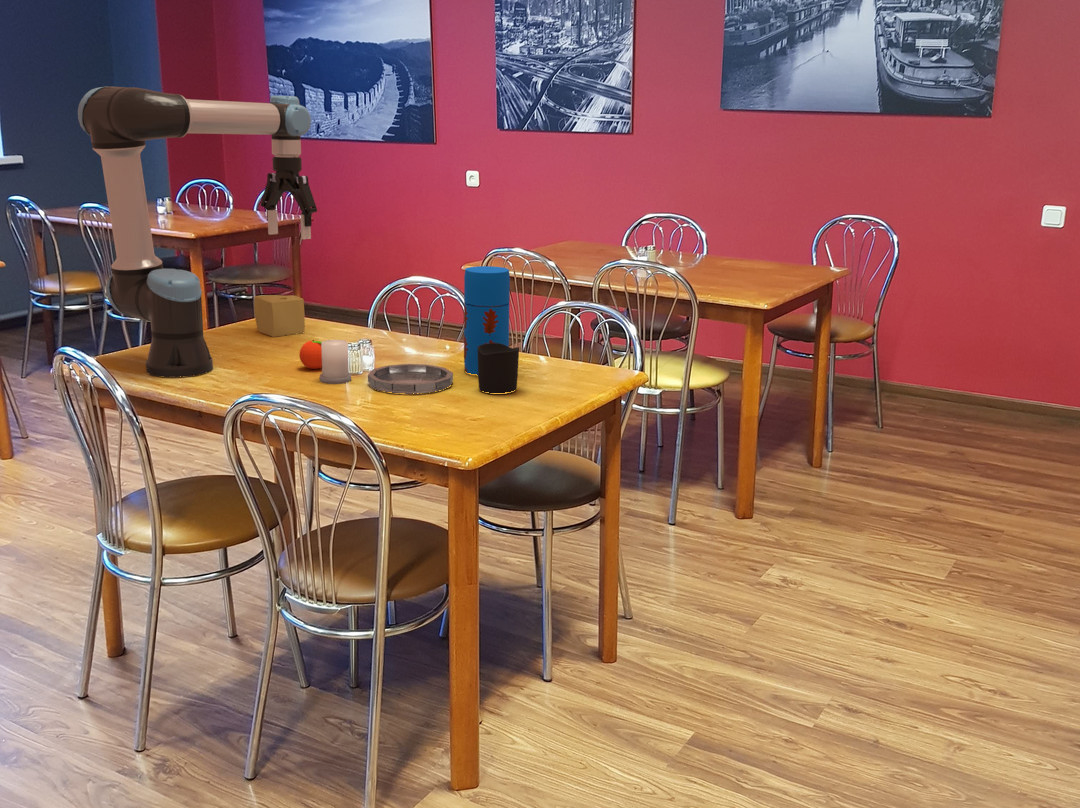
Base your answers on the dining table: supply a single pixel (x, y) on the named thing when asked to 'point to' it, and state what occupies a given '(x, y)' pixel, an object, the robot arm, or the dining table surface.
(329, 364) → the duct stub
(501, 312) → the thermos
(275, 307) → the cheese
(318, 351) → the clementine
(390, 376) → the round tray
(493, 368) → the pen holder
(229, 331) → the dining table surface
